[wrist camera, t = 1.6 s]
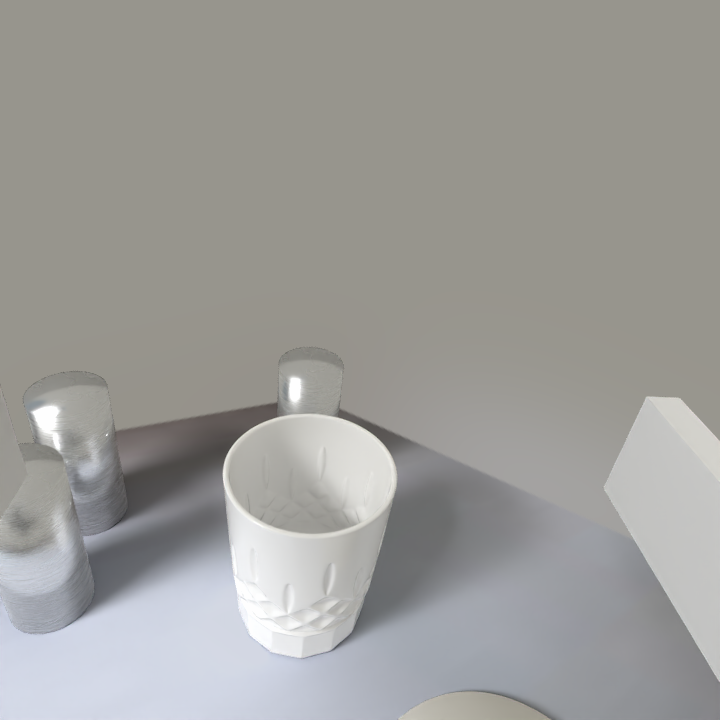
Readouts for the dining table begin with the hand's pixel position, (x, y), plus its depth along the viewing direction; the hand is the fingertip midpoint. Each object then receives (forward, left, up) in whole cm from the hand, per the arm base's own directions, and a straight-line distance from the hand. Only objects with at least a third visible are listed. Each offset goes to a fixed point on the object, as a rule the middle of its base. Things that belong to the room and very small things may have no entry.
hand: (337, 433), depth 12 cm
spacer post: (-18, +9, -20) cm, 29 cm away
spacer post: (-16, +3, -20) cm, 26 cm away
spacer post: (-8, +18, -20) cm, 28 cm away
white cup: (-4, +9, -20) cm, 22 cm away
